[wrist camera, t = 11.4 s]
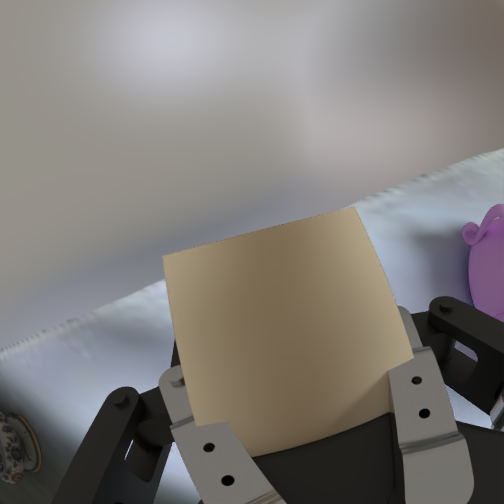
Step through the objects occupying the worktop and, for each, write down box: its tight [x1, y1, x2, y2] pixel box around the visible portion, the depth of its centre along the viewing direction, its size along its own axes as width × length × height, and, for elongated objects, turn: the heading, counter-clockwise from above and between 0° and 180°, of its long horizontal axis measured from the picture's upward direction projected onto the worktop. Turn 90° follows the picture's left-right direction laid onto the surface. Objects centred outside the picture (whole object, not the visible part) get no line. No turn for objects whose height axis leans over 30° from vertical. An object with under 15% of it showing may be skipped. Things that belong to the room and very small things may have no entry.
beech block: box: [163, 207, 414, 457], centre depth 12 cm, size 5×5×13 cm
